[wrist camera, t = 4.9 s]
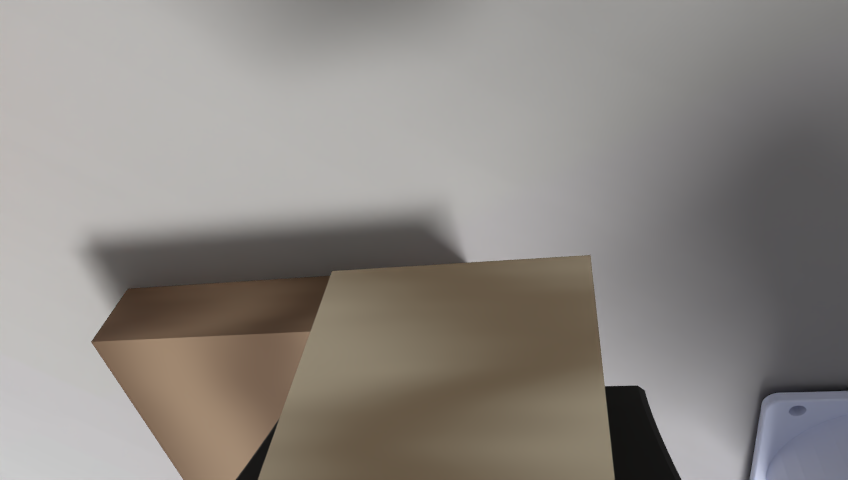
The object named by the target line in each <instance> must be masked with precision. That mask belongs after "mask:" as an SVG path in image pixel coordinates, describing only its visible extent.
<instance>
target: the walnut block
mask: <svg viewBox="0 0 848 480" xmlns="http://www.w3.org/2000/svg"><path fill="white" fill-rule="evenodd" d="M329 278H330V276H320V277H304V278H289V279H273V280H257V281H241V282H226V283H210V284H194V285H179V286H163V287H147V288H131V289H127V291H126V292H125V294H124V295H123V297H122V298H121V300H120V301H119V302H118V304H117V305H116V307H115V308H114V310H113V311H112V313H111V314H110V315H109V317H108V318H107V320H106V321H105V323H104V324H103V326H102V327H101V328H100V330H99V331H98V333H97V334H96V336H95V337H94V339H93V340H92V341H91V342H92V344H93V345H94V347H95V348H96V350H97V351H98V353H99V354H100V356H101V357H102V359H103V360H104V362H105V363H106V365H107V366H108V368H109V369H110V371H111V372H112V374H113V375H114V377H115V378H116V380H117V381H118V383H119V384H120V386H121V387H122V389H123V390H124V392H125V393H126V395H127V396H128V398H129V399H130V401H131V402H132V404H133V405H134V407H135V408H136V410H137V411H138V412H139V414H140V415H141V417H142V418H143V420H144V421H145V423H146V424H147V426H148V427H149V429H150V430H151V432H152V433H153V435H154V436H155V438H156V439H157V441H158V442H159V444H160V445H161V447H162V448H163V450H164V451H165V453H166V454H167V456H168V457H169V459H170V460H171V462H172V463H173V465H174V466H175V468H176V469H177V471H178V472H179V474H180V475H181V477H182V478H183V480H236V478H237V477H238V476H239V474H240V473H241V472H242V470H243V469H244V468H245V466H246V465H247V464H248V462H249V461H250V459H251V458H252V457H253V455H254V454H255V452H256V451H257V450H258V448H259V447H260V445H261V444H262V443H263V441H264V440H265V438H266V437H267V435H268V434H269V433H270V431H271V430H272V428H273V427H274V425H275V424H276V422H277V421H278V420H279V418H280V416H281V413H282V410H283V408H284V405H285V402H286V399H287V396H288V393H289V391H290V388H291V385H292V382H293V379H294V377H295V374H296V371H297V368H298V365H299V363H300V360H301V357H302V354H303V351H304V349H305V346H306V343H307V340H308V337H309V335H310V332H311V329H312V326H313V323H314V321H315V318H316V315H317V312H318V309H319V306H320V304H321V301H322V298H323V295H324V292H325V290H326V287H327V284H328V281H329Z"/></svg>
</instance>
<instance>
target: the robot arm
mask: <svg viewBox="0 0 848 480" xmlns="http://www.w3.org/2000/svg"><path fill="white" fill-rule="evenodd" d="M605 394H606V403H607V413H608V422H609V431H610V440H611V449H612V458H613V468H614V477H615V480H681V478H680V476H679V474H678V472H677V470H676V468H675V466H674V464H673V462H672V459H671V457H670V455H669V453H668V451H667V449H666V446H665V444H664V442H663V440H662V437H661V435H660V433H659V430H658V428H657V425H656V423H655V420H654V418H653V415H652V412H651V410H650V407H649V404H648V401H647V397H646V394H645V391H644V390H643V389H642V388H640V387H639V386H605ZM279 419H280V418H279ZM278 422H279V420H278V421H277V422H276V424H275V425H274V427H273V428H272V430H271V431H270V433H269V434H268V435H267V437H266V438H265V440H264V441H263V443H262V444H261V445H260V447H259V448H258V450H257V451H256V452H255V454H254V455H253V457H252V458H251V459H250V461H249V462H248V464H247V465H246V466H245V468H244V469H243V470H242V472H241V473H240V474H239V476H238V477H237V478H236V480H258V478H259V475H260V472H261V469H262V466H263V464H264V461H265V458H266V455H267V452H268V450H269V447H270V444H271V441H272V438H273V436H274V433H275V430H276V427H277V424H278ZM750 480H848V391H826V392H786V393H773V394H771V395H768V396H767V397H766V398H765V399H764V400H763V402H762V405H761V412H760V418H759V424H758V430H757V437H756V443H755V449H754V455H753V462H752V468H751V474H750Z"/></svg>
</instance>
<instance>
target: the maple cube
mask: <svg viewBox="0 0 848 480" xmlns="http://www.w3.org/2000/svg"><path fill="white" fill-rule="evenodd" d="M258 480H615V477H614V468H613V458H612V449H611V440H610V431H609V422H608V413H607V403H606V394H605V385H604V376H603V367H602V357H601V348H600V339H599V330H598V321H597V312H596V302H595V293H594V284H593V275H592V266H591V256H590V255H585V256H569V257H552V258H536V259H520V260H504V261H487V262H471V263H455V264H439V265H422V266H406V267H390V268H374V269H357V270H341V271H332V273H331V276H330V278H329V281H328V284H327V287H326V290H325V292H324V295H323V298H322V301H321V304H320V306H319V309H318V312H317V315H316V318H315V321H314V323H313V326H312V329H311V332H310V335H309V337H308V340H307V343H306V346H305V349H304V351H303V354H302V357H301V360H300V363H299V365H298V368H297V371H296V374H295V377H294V379H293V382H292V385H291V388H290V391H289V393H288V396H287V399H286V402H285V405H284V408H283V410H282V413H281V416H280V419H279V422H278V424H277V427H276V430H275V433H274V436H273V438H272V441H271V444H270V447H269V450H268V452H267V455H266V458H265V461H264V464H263V466H262V469H261V472H260V475H259V478H258Z"/></svg>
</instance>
